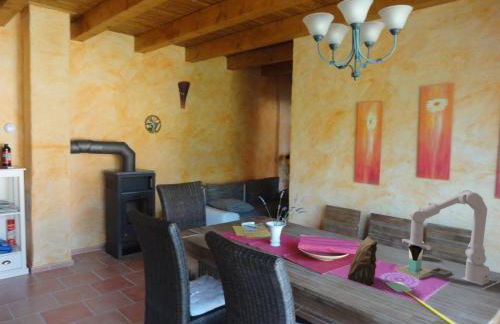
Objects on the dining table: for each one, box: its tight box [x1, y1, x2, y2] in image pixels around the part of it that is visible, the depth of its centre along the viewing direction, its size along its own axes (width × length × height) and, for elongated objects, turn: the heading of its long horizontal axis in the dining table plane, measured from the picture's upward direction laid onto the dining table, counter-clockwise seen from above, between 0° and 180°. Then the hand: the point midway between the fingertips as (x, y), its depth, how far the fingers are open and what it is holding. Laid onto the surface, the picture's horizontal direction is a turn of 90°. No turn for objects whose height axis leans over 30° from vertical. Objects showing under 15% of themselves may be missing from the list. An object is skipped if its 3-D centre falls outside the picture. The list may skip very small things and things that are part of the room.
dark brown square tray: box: [430, 267, 455, 279], centre depth 185 cm, size 9×9×2 cm
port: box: [396, 263, 433, 280], centre depth 184 cm, size 12×12×3 cm
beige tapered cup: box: [408, 241, 425, 260], centre depth 208 cm, size 8×8×10 cm
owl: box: [346, 235, 378, 287], centre depth 172 cm, size 13×13×20 cm
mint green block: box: [407, 258, 422, 272], centre depth 184 cm, size 4×5×7 cm
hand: (415, 260), depth 183 cm, fingers closed, pressing on mint green block
